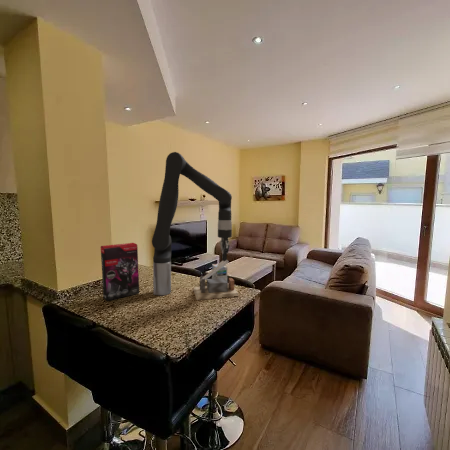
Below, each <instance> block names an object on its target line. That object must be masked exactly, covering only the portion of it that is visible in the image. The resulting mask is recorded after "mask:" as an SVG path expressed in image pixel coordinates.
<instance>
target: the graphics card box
mask: <svg viewBox="0 0 450 450" xmlns="http://www.w3.org/2000/svg"><path fill="white" fill-rule="evenodd" d="M138 249H139V248H138V244H137V243H136V242H128V243H118V244H117V243H116V244H108V245H101V246H100V258H101V260H100V261H101V275H102V277H101V278H102V279H101V280H102V295H103V297H102V298H103V299H104V300H105V301H107V302H108V301H113V300H117V299H121V298H125V297H129V296H133V295H137V294H140V280H139V279H140V277H139V276H140V275H139V256H138V255H139V253H138V251H139V250H138Z"/></svg>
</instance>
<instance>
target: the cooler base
mask: <svg viewBox="0 0 450 450" xmlns="http://www.w3.org/2000/svg"><path fill="white" fill-rule="evenodd" d="M204 276H205V275H202V276H199V286H193V292H194V295H195V296H194V297H195V299H196V300H197V301H199V300H211V299H213V298H214V299H223V298H222V297H227V298H235V297H234V296H238V297H239V292H238V291H237V289H236V288H235V280H234V279H233V278H232V277H228V280H227V281H226V280H225V278H218V279H212V278H207V279H206V280H205V279H201V278H203V277H204ZM200 279H201V280H200Z"/></svg>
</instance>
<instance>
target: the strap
mask: <svg viewBox="0 0 450 450" xmlns="http://www.w3.org/2000/svg"><path fill="white" fill-rule="evenodd" d="M229 263H230V262H229V260H228V259H227V260H225V261H223V260H221V261H220V262H219V263H217V264H218V266H217V267H216V268H215V269H213V270H212V269H211V271H210V272H208V273H207V274H205V275H203V276H204V277H203V278H201V279H205V281H207V279H210V277H212V275H213V274H214V273H215V272H217V271H218V270H219V269H221V268H222V267H223V266H226V265H227V264H229ZM201 279H200V278H199V281H200V280H201Z"/></svg>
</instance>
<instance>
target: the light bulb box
mask: <svg viewBox="0 0 450 450" xmlns="http://www.w3.org/2000/svg"><path fill="white" fill-rule="evenodd" d="M218 264H219V263H211V271H212V270H213V269H215V268H216V267H217V266H218ZM218 278H225V280H226V281H227V282H228V266H226V265H225V266H223V267H222V268H221V269H219V270H218V271H217V272H215V273H214V274H213V275H211V279H218Z"/></svg>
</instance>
